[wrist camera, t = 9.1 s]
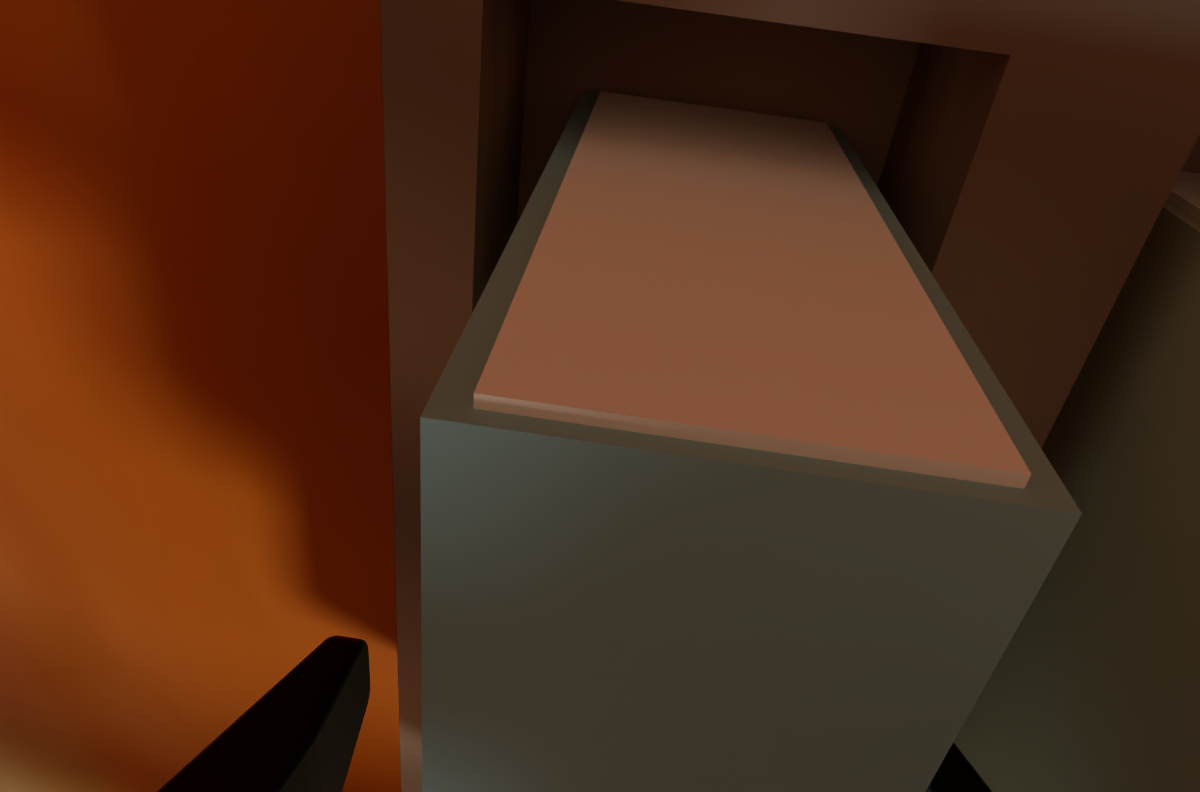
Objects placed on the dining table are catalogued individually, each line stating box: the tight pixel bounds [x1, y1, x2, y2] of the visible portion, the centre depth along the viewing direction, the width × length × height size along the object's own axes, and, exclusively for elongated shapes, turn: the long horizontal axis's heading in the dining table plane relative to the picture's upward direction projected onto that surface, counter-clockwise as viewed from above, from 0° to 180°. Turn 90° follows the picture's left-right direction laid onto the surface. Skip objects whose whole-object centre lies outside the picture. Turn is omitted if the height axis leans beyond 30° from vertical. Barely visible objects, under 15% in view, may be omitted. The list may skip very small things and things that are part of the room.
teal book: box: [420, 91, 1082, 792], centre depth 11 cm, size 11×4×8 cm, turn 174°
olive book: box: [954, 171, 1200, 792], centre depth 11 cm, size 11×4×8 cm, turn 174°
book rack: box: [380, 0, 1200, 792], centre depth 13 cm, size 16×21×4 cm
